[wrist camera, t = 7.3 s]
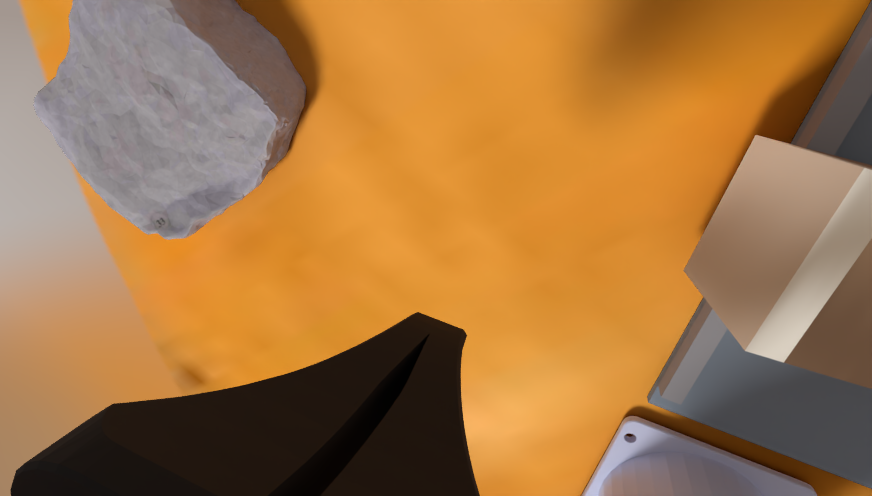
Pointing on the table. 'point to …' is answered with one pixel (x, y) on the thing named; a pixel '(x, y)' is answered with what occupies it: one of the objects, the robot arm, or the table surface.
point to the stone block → (171, 107)
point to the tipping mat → (770, 379)
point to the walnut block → (794, 259)
